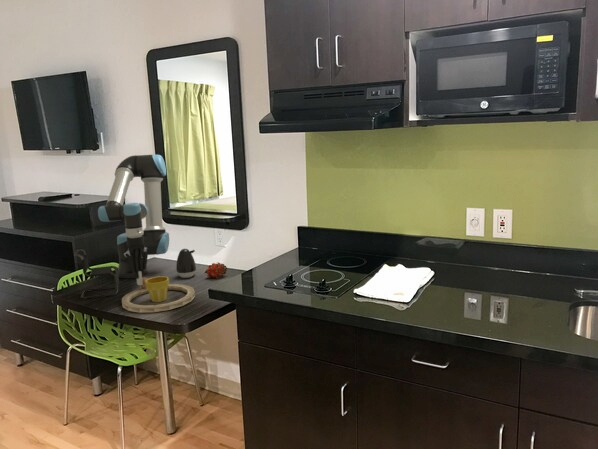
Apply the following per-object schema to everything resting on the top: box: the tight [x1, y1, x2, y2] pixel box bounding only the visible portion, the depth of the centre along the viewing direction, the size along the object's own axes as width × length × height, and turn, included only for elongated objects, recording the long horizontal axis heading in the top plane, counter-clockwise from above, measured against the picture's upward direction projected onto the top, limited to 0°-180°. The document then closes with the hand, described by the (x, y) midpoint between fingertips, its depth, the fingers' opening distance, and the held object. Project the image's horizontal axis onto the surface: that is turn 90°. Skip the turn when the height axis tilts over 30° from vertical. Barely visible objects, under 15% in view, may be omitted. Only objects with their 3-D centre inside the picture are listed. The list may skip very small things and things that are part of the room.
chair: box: [73, 248, 120, 300], centre depth 235 cm, size 13×17×22 cm
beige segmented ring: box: [121, 276, 196, 314], centre depth 224 cm, size 32×32×7 cm
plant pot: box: [145, 276, 170, 303], centre depth 224 cm, size 10×10×10 cm
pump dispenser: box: [175, 248, 197, 279], centre depth 257 cm, size 10×10×15 cm
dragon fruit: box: [204, 262, 228, 279], centre depth 255 cm, size 8×8×12 cm
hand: (139, 284), depth 233 cm, fingers closed
